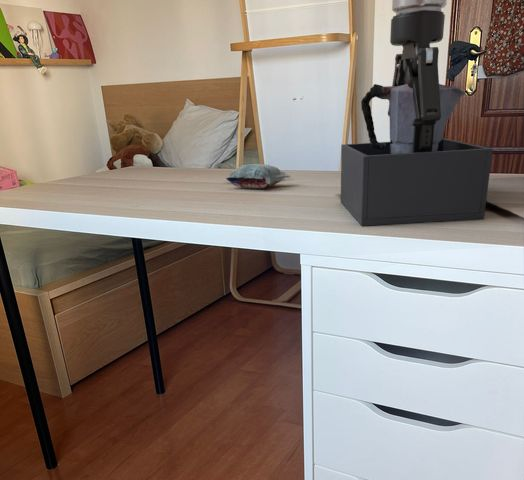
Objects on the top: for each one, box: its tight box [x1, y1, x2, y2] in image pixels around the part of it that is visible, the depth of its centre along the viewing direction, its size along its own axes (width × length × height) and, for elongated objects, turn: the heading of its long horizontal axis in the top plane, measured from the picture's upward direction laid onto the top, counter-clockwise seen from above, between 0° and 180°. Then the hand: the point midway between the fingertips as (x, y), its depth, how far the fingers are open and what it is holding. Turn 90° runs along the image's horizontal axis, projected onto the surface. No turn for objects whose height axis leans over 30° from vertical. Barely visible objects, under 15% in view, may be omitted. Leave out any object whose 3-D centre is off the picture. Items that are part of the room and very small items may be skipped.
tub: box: [340, 138, 494, 227], centre depth 86 cm, size 19×20×10 cm
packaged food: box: [225, 163, 291, 189], centre depth 117 cm, size 9×12×5 cm
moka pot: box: [360, 83, 466, 154], centre depth 84 cm, size 10×15×20 cm, turn 80°
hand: (408, 167), depth 85 cm, fingers open, 13 cm apart
